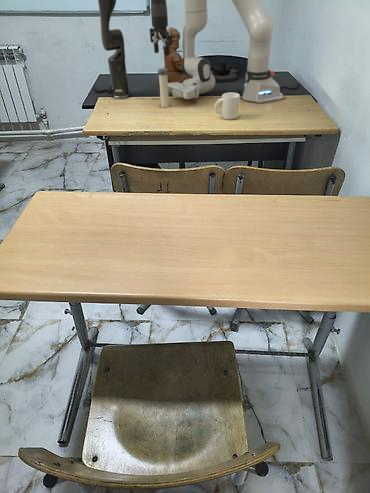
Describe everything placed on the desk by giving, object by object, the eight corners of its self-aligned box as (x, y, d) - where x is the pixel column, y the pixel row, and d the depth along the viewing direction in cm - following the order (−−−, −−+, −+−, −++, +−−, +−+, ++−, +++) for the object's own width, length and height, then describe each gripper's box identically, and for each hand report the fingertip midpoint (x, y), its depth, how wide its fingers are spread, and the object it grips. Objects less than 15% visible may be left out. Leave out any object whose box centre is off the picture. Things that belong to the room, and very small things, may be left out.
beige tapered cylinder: (166, 104, 194) (164, 68, 183) (170, 106, 191) (168, 70, 180) (159, 105, 193) (157, 70, 181) (163, 107, 190) (161, 72, 178)
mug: (215, 121, 173) (216, 99, 166) (212, 114, 179) (213, 93, 173) (240, 119, 174) (241, 97, 167) (235, 113, 180) (237, 91, 174)
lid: (165, 71, 184) (164, 67, 183) (169, 74, 181) (169, 69, 179) (156, 73, 182) (156, 69, 181) (160, 75, 179) (160, 71, 178)
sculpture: (197, 88, 213) (196, 30, 194) (156, 89, 214) (152, 31, 194) (196, 75, 234) (196, 22, 215) (159, 76, 235) (156, 23, 215)
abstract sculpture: (205, 66, 215) (198, 59, 231) (204, 82, 221) (198, 74, 236) (245, 63, 218) (236, 56, 233) (243, 79, 224) (235, 71, 239)
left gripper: (143, 14, 167) (147, 53, 178) (162, 17, 159) (165, 57, 170) (156, 12, 171) (158, 50, 182) (175, 15, 163) (177, 55, 173)
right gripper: (178, 77, 200) (157, 82, 194) (200, 86, 187) (178, 91, 181) (178, 89, 204) (158, 94, 198) (200, 98, 191) (179, 104, 185)
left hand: (161, 54), depth 176 cm, fingers open, 7 cm apart
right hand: (168, 93), depth 189 cm, fingers open, 8 cm apart
